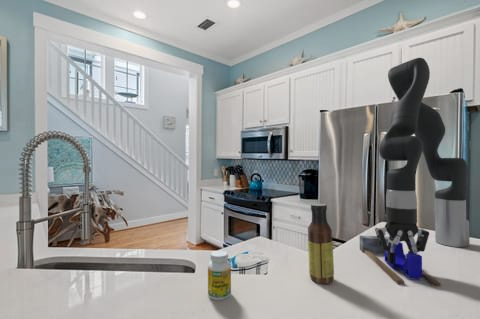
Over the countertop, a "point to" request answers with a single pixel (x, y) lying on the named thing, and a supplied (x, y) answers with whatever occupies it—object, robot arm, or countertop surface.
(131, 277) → the countertop surface
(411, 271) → the cable clip
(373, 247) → the guide channel
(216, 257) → the supplement bottle
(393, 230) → the robot arm
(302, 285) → the countertop surface
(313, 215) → the sauce bottle
